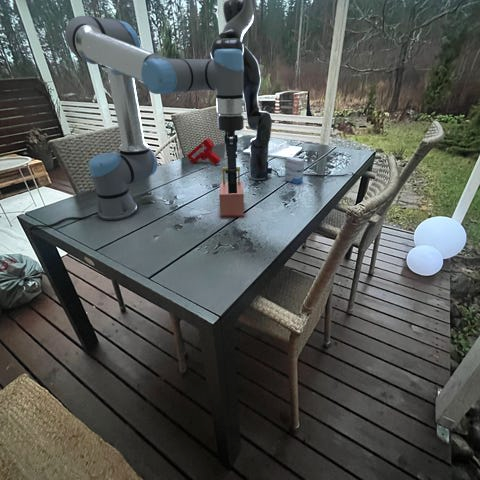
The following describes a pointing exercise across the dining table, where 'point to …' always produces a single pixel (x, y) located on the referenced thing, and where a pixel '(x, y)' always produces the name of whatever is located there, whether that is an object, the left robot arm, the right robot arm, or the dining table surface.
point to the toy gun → (204, 152)
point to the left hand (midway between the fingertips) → (232, 185)
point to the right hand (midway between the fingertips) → (229, 153)
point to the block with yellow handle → (224, 186)
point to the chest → (231, 206)
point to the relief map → (280, 150)
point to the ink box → (294, 170)
